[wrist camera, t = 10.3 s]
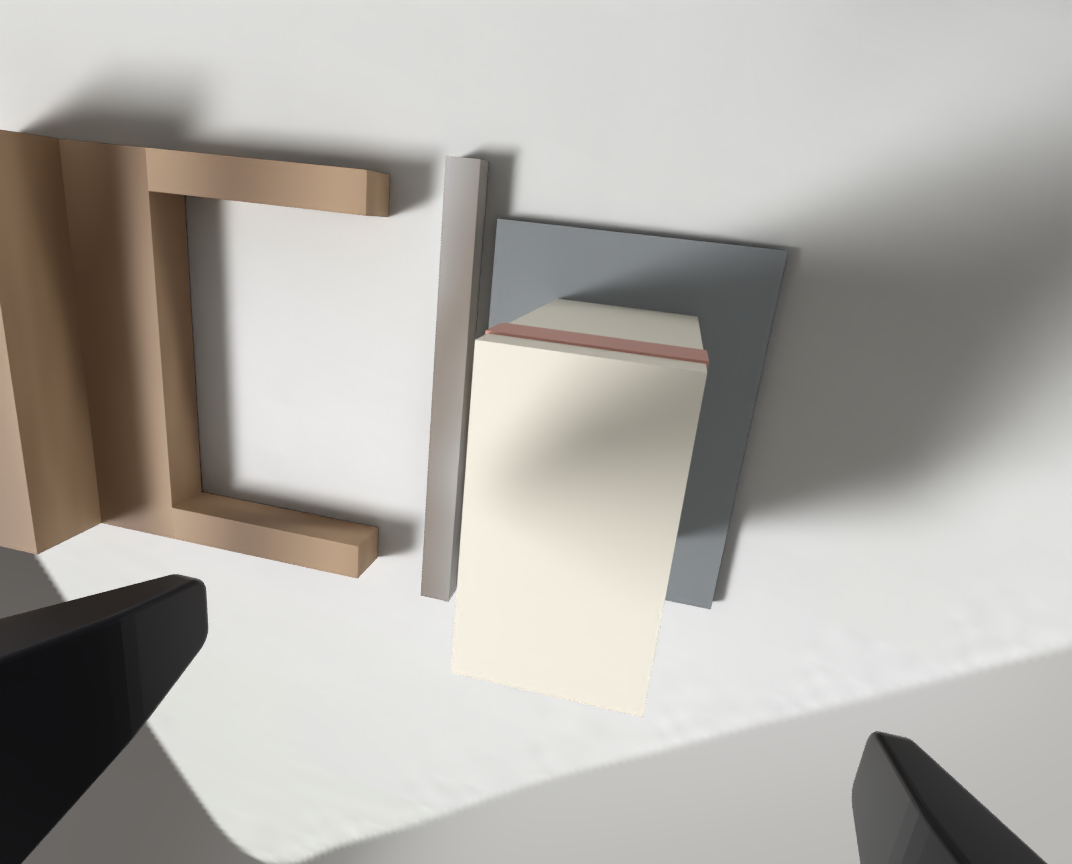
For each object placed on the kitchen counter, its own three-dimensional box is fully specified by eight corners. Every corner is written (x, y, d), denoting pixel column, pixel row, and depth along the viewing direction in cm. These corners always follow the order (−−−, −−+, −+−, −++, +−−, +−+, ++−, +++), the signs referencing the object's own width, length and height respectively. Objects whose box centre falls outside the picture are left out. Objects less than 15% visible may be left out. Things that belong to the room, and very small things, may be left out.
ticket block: (699, 314, 18) (710, 369, 11) (659, 542, 20) (645, 720, 13) (556, 296, 19) (472, 336, 11) (531, 518, 21) (448, 674, 14)
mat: (786, 250, 18) (788, 250, 17) (710, 602, 21) (710, 609, 21) (500, 218, 19) (497, 218, 19) (473, 554, 22) (469, 559, 22)
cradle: (488, 162, 19) (439, 143, 15) (456, 589, 23) (411, 658, 19) (7, 115, 21) (-137, 91, 18) (58, 504, 26) (-48, 549, 22)
